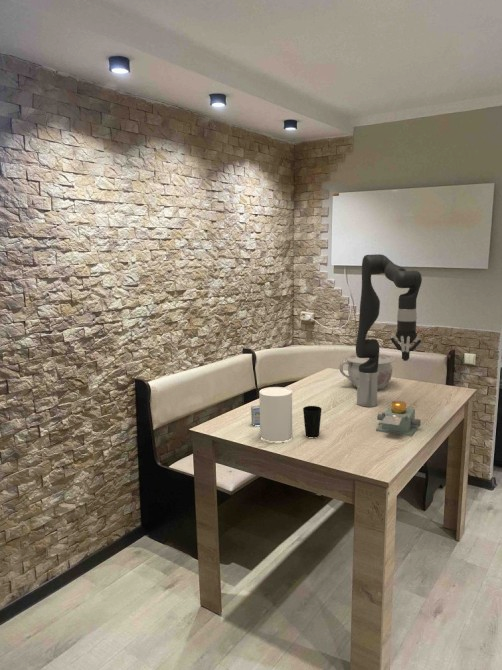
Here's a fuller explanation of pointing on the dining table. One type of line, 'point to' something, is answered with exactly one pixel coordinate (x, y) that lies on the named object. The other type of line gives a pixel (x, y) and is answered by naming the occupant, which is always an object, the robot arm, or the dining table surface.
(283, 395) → the canister
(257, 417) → the medicine box
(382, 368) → the chamber pot
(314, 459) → the dining table surface
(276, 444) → the dining table surface
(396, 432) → the grey-green knobbed device
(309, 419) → the cup
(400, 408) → the orange domed cylinder
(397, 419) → the bar
